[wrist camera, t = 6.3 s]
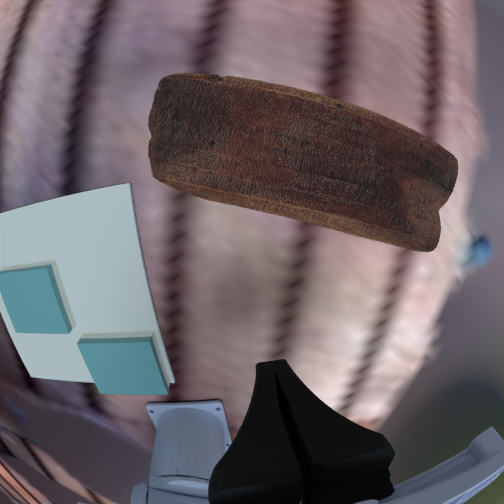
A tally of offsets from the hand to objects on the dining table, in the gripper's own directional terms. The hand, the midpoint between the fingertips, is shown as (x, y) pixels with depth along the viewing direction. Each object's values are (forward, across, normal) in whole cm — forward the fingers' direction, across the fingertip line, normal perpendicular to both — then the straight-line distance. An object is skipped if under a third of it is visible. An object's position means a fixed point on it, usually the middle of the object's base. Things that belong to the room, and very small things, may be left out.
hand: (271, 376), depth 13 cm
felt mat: (+10, +17, 0) cm, 20 cm away
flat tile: (+10, +12, +6) cm, 17 cm away
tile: (+9, +16, -1) cm, 18 cm away
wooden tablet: (+11, -6, -9) cm, 16 cm away
